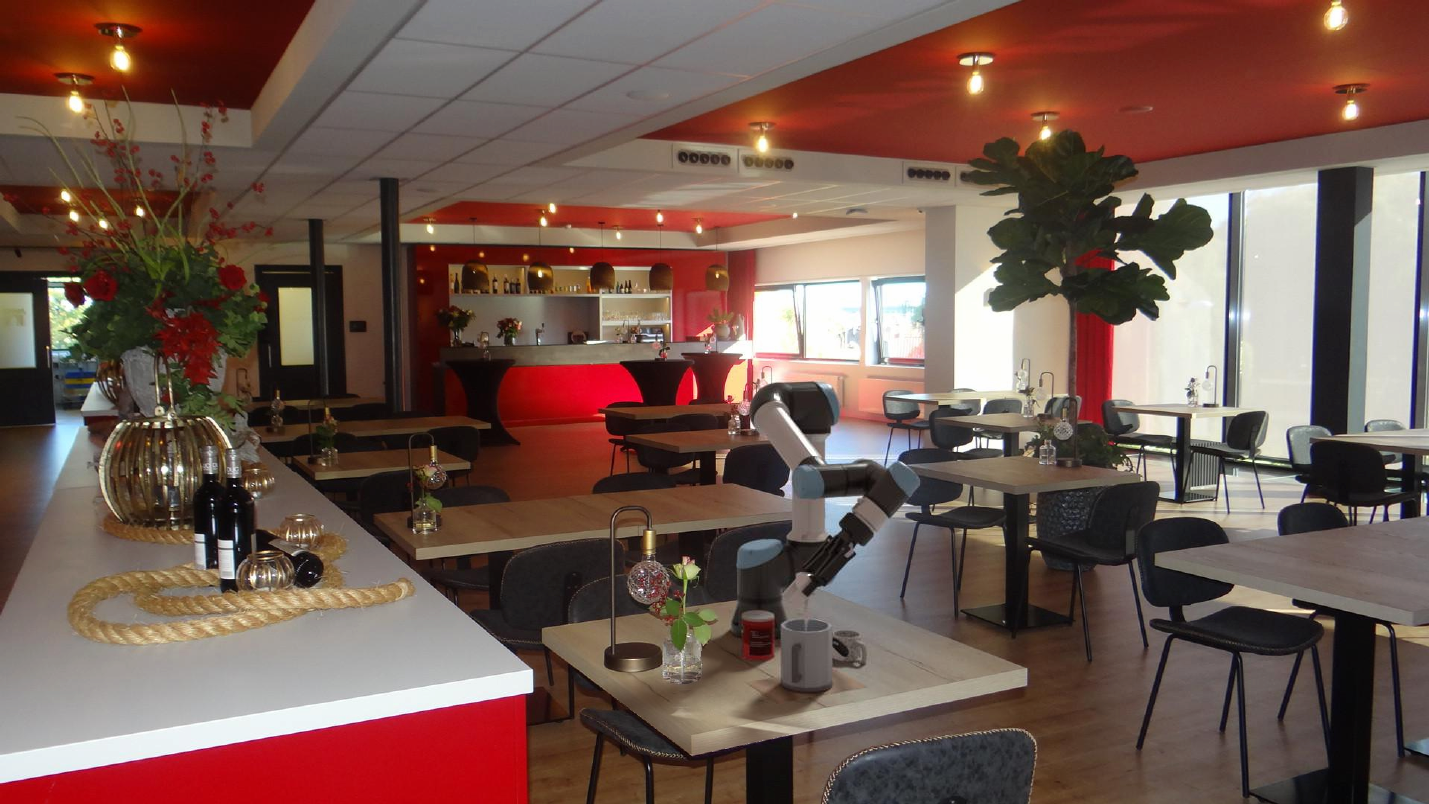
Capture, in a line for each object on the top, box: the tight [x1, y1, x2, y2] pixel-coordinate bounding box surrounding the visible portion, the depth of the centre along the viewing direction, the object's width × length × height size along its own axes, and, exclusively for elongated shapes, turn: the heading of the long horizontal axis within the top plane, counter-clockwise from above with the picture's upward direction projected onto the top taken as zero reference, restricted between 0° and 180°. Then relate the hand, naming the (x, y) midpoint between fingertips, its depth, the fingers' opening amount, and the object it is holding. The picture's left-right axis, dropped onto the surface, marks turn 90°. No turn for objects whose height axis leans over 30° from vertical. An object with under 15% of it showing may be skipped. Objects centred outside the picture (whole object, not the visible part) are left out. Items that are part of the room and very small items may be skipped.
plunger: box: [796, 572, 818, 632], centre depth 215 cm, size 8×8×18 cm
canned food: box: [741, 610, 775, 662], centre depth 236 cm, size 8×8×11 cm
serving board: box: [746, 667, 868, 704], centre depth 215 cm, size 22×14×1 cm, turn 115°
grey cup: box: [780, 617, 833, 694], centre depth 214 cm, size 11×14×13 cm
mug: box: [832, 629, 868, 665], centre depth 233 cm, size 10×7×7 cm, turn 34°
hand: (789, 602), depth 214 cm, fingers closed on plunger, 4 cm apart
